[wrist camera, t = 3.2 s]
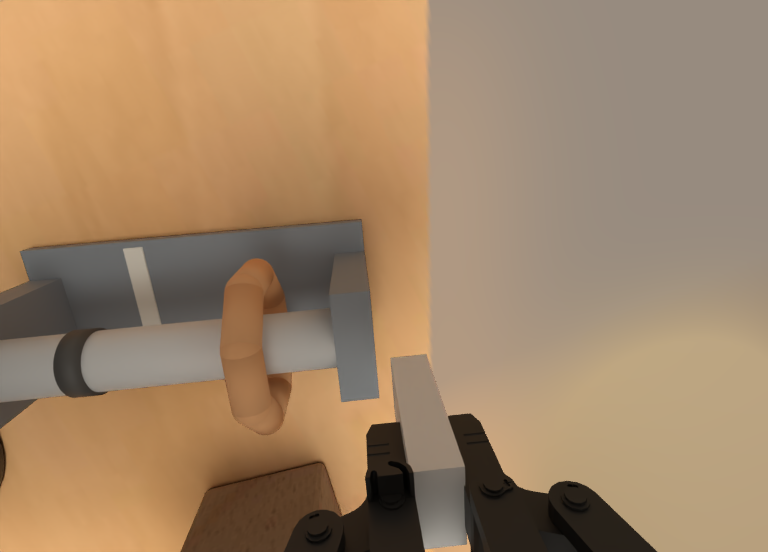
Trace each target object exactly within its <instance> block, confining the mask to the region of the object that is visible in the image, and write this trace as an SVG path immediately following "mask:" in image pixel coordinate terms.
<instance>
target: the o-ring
mask: <svg viewBox="0 0 768 552" xmlns="http://www.w3.org/2000/svg"><path fill="white" fill-rule="evenodd" d="M285 312H287V307H286V300H285V294H284V291H283V289H282V287H281V285H280V283H279V281H278V279H277V276H276V274H275V272H274V270H273V268H272V266H271V265H270V264H269V263H268V262H267V261H265V260H263V259H258V258H255V259H251V260H249V261H247V262H246V263H244V265H243V266H242V267H241V268H240V269H239V270H238V271H237V272H236V273H235V274H234V275H233V276H232V277H231V278H230V280H229V281H228V282H227V284H226V286H225V290H224V302H223V315H222V327H221V340H220V357H221V362H222V367H223V372H224V376H225V381H226V386H227V391H228V396H229V400H230V405H231V410H232V414H233V416H234V418H235V419H236V420H237V421H238V422H239V423H240V424H242V425H244V426H246V427H247V428H249V429H251V430H253V431H255V432H256V433H258V434H261V435H269V434H272V433H274V432H276V431H277V430H278V429H279V428H280V427H281V426H282V424H283V421H284V417H285V413H286V409H287V405H288V401H289V397H290V393H291V388H292V372H289V373H279V374H269V375H267V372H266V367H265V361H264V355H263V350H262V335H263V315H265V314H275V313H285Z"/></svg>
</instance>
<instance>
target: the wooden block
mask: <svg viewBox="0 0 768 552" xmlns="http://www.w3.org/2000/svg"><path fill="white" fill-rule="evenodd" d="M316 510H329V511H333V512H335V513H336V514H337V515H339V516H340V517H341V514H340V511H339V508H338V505H337V502H336V499H335V496H334V493H333V490H332V487H331V484H330V481H329V477H328V474H327V471H326V468H325V466H324V465H323V464H322V463H316V464H312V465H308V466H303V467H299V468H295V469H291V470H287V471H283V472H279V473H275V474H271V475H266V476H262V477H258V478H254V479H250V480H246V481H242V482H238V483H233V484H229V485H225V486H221V487H217V488H213V489H210V490H208V491H207V492H206V493H205V495H204V498H203V500H202V502H201V505H200V507H199V509H198V512H197V514H196V516H195V519H194V521H193V524H192V526H191V528H190V531H189V533H188V535H187V538H186V540H185V542H184V545H183V547H182V550H181V552H284V550H285V548H286V546H287V543H288V541H289V539H290V536H291V534H292V532H293V529H294V527H295V526H296V524H297V523H298V521H299V520H300V519H301V518H303V517H304V516H305V515H306V514H308V513H311V512H313V511H316Z"/></svg>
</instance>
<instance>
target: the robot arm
mask: <svg viewBox="0 0 768 552" xmlns="http://www.w3.org/2000/svg"><path fill="white" fill-rule="evenodd" d="M391 369H392V382H393V395H394V408H395V417H396V422H394V423H384V424H375V425H371V427H370V429H369V431H368V433H367V435H366V438H367V464H368V470H367V472H366V476H365V481H366V490H367V497H366V500H365V501H364V502H363V504H362V505H361V506H360V507H358V508H357V509H356V510H354V511H352V512H351V513H349V514H346V515H344V516H341V517H340V516H339V515H337V514H336V513H335V512H333V511H329V510H316V511H313V512H311V513H308V514H306V515H305V516H304V517H303V518H301V519H300V520H299V521H298V523H297V524H296V526H295V527H294V529H293V532H292V534H291V536H290V539H289V541H288V543H287V546H286V548H285V550H284V552H425V549H431V548H440V547H448V546H456V545H466V544H467V535H468V539H469V542H470V545H471V552H657V551H656V550H655V549H654V548H653V547H652V546H650V544H649V543H647V542H646V541H645V540H644V539H643V538H642V537H641V536H640V535H639V534H638V533H637V532H636V531H635V530H634V529H633V528H632V527H631V526H630V525H629V524H628V523H627V522H626V521H625V520H624V519H623V518H621V517H620V516H619V515H618V514H617V513H616V512H615V511H614V510H613V509H612V508H611V507H610V506H609V505H608V504H607V503H606V502H605V501H604V500H603V499H602V498H601V497H599V495H598V494H596V493H595V492H594V491H593V490H591V489H590V488H589V487H587V486H585V485H582V484H580V483H577V482H571V481H564V482H558V483H556V484H554V485H553V486H552V487H551V488H550V490H549V493H548V494H547V493H540V492H533V491H529V490H525V489H523V488H520V487H518V486H517V485H516V484H515V483H514V481H513V480H512V479H511V478H510V477H508V476H507V475H505V474H504V473H503V470H502V468H501V466H500V464H499V462H498V460H497V457H496V455H495V453H494V451H493V449H492V447H491V444H490V443H489V440H488V438H487V436H486V434H485V431H484V429H483V427H482V425H481V423H480V421H479V420H477V419H476V418H475V417H474V416H473V415H471V414H461V415H452V416H447V413H446V410H445V407H444V404H443V401H442V399H441V396H440V393H439V390H438V387H437V384H436V381H435V379H434V375H433V373H432V370H431V367H430V364H429V361H428V358H427V355H426V354H424V355H414V356H404V357H394V358H391ZM3 473H4V455H3V450H2V446H1V443H0V485H1V482H2V478H3Z"/></svg>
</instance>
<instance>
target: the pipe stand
mask: <svg viewBox="0 0 768 552" xmlns="http://www.w3.org/2000/svg"><path fill="white" fill-rule="evenodd" d="M20 253H21V256H22V259H23V262H24V265H25V268H26V271H27V274H28V277H29V280H30V281H29V282H26V283H24V284H21V285H19V286H16V287H14V288H11V289H9V290H6V291H4V292H2V293H0V428H2V427H3V426H4V425H5V424H7V423H8V422H9V421H11V420H12V419H13V418H14V417H16V416H17V415H18V414H19V413H21V412H22V411H23V410H24V409H26V408H27V407H28V406H29V405H31V404H32V403H33V402H34V401H36V400H37V399H39V398H49V397H58V396H69V397H72V398H77V397H87V396H96V395H103V394H105V393H107V392H108V391H116V390H125V389H135V388H145V387H154V386H164V385H173V384H183V383H193V382H202V381H212V380H221V379H225V376H224V372H223V367H222V362H221V357H220V340H221V327H222V315H223V302H224V290H225V286H226V284H227V282H228V281H229V280H230V278H231V277H232V276H233V275H234V274H235V273H236V272H237V271H238V270H239V269H240V268H241V267H242V266H243V265H244V263H246V262H247V261H249V260H251V259H255V258H258V259H263V260H265V261H267V262H268V263H269V264H270V265H271V266H272V268H273V270H274V272H275V274H276V276H277V279H278V281H279V283H280V285H281V287H282V289H283V291H284V294H285V300H286V307H287V312H285V313H275V314H265V315H263V335H262V350H263V355H264V361H265V367H266V372H267V375H269V374H279V373H289V372H298V371H308V370H317V369H327V368H336V367H337V368H338V377H339V385H340V394H341V402H347V401H356V400H365V399H374V398H379V389H378V378H377V367H376V355H375V344H374V333H373V322H372V311H371V299H370V289H369V282H368V274H367V267H366V260H365V253H364V242H363V231H362V221H361V219H359V220H348V221H336V222H325V223H313V224H302V225H290V226H279V227H267V228H256V229H244V230H232V231H221V232H209V233H198V234H186V235H175V236H163V237H152V238H140V239H128V240H117V241H105V242H94V243H82V244H71V245H59V246H48V247H36V248H29V249H26V250H23V251H20Z"/></svg>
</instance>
